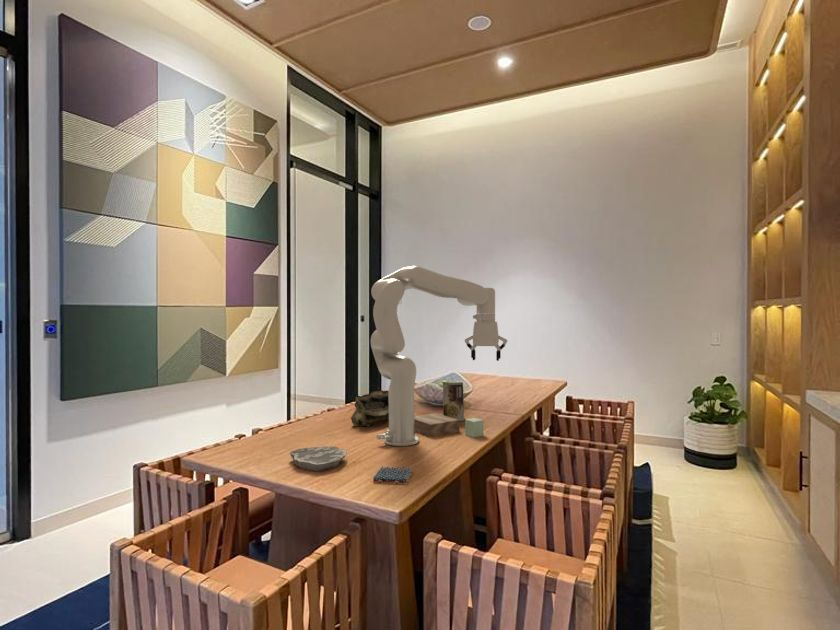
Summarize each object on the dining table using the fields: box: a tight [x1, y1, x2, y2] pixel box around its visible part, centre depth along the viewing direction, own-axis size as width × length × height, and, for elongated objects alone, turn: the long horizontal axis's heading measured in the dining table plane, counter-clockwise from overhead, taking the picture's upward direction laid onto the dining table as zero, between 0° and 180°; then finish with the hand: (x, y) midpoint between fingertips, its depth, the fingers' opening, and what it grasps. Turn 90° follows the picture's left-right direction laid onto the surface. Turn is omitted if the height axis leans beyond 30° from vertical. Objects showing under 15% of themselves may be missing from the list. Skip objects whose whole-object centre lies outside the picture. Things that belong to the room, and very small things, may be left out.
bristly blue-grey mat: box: [372, 466, 415, 485], centre depth 140 cm, size 10×11×2 cm
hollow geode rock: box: [350, 389, 389, 427], centre depth 213 cm, size 28×13×15 cm
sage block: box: [464, 417, 485, 438], centre depth 187 cm, size 5×5×6 cm
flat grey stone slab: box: [289, 446, 348, 472], centre depth 155 cm, size 20×17×3 cm
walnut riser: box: [414, 412, 460, 438], centre depth 196 cm, size 14×16×5 cm
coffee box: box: [442, 381, 465, 422], centre depth 214 cm, size 9×6×16 cm
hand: (485, 360), depth 197 cm, fingers open, 9 cm apart
